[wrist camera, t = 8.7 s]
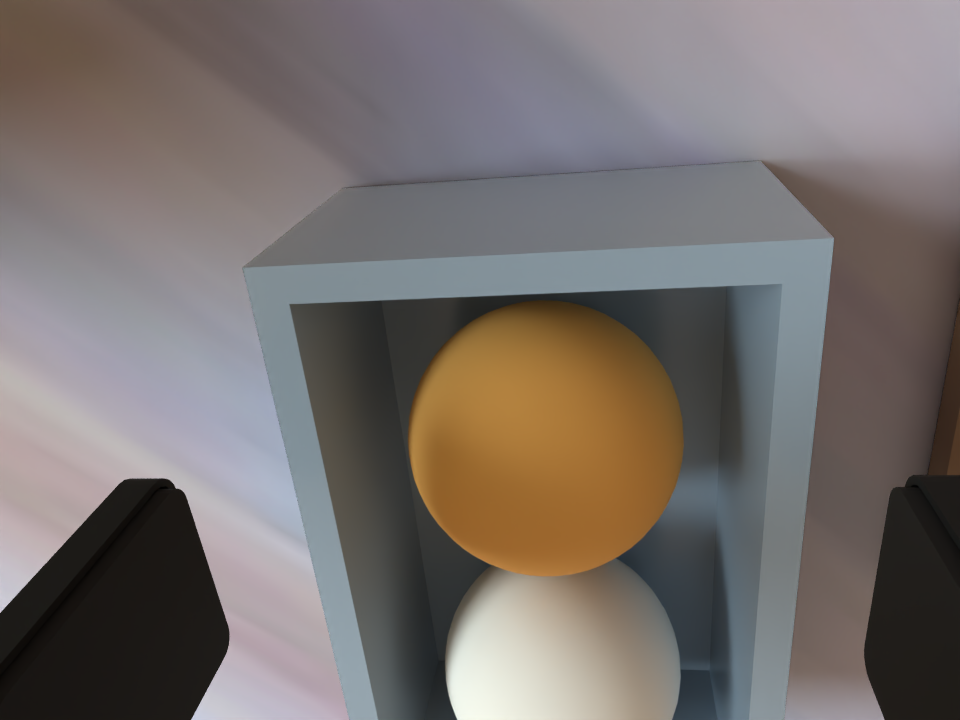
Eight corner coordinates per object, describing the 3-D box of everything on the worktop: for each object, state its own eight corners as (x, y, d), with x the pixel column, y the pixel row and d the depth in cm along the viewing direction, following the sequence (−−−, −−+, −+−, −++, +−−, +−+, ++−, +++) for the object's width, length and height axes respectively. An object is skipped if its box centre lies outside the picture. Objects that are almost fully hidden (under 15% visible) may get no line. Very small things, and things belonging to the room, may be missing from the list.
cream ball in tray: (453, 496, 18) (407, 663, 14) (671, 496, 17) (697, 673, 13) (474, 653, 20) (440, 841, 16) (668, 659, 19) (690, 860, 15)
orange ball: (422, 268, 16) (352, 381, 11) (673, 256, 15) (703, 374, 10) (449, 472, 18) (400, 634, 13) (670, 471, 17) (694, 644, 13)
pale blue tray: (342, 188, 16) (242, 267, 11) (771, 159, 14) (850, 237, 10) (423, 661, 21) (377, 839, 17) (738, 673, 20) (779, 870, 16)
